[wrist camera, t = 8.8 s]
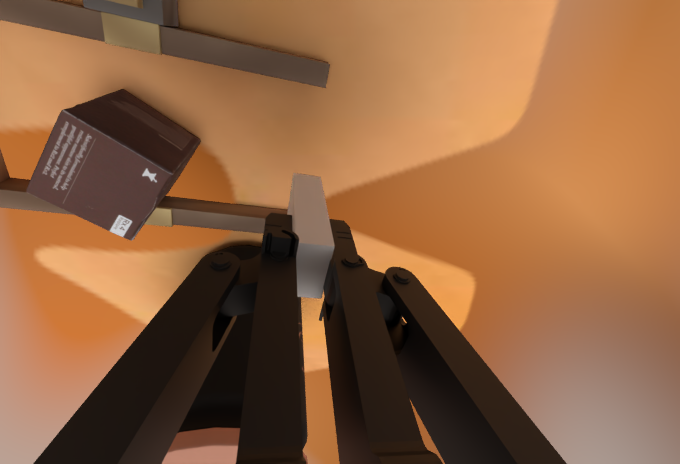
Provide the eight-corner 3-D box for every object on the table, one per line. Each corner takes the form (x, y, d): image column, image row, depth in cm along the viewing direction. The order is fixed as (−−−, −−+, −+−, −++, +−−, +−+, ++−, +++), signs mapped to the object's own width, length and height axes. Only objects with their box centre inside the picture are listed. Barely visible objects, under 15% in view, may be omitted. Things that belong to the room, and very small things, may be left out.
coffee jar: (277, 328, 37) (270, 532, 22) (181, 304, 33) (90, 532, 18) (317, 259, 32) (342, 455, 17) (211, 223, 29) (125, 434, 14)
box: (123, 85, 22) (60, 105, 16) (203, 140, 25) (175, 174, 19) (89, 152, 24) (20, 192, 18) (166, 195, 27) (130, 243, 21)
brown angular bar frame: (-115, -94, 17) (-211, -125, 13) (333, 22, 22) (341, 19, 19) (-8, 193, 25) (-52, 216, 21) (299, 226, 30) (301, 249, 27)
